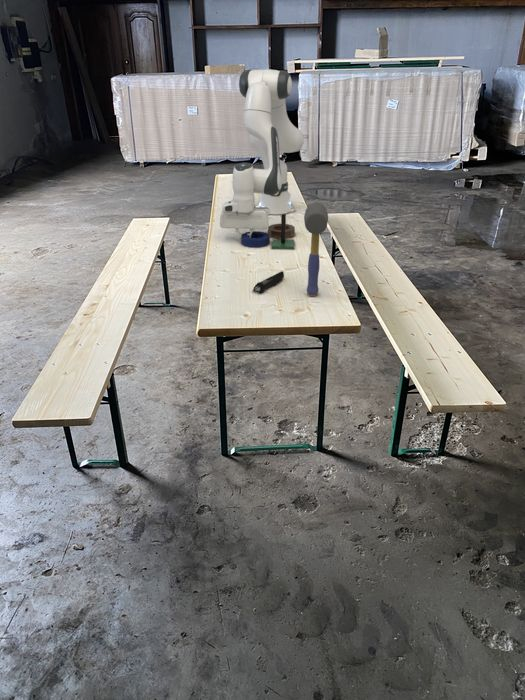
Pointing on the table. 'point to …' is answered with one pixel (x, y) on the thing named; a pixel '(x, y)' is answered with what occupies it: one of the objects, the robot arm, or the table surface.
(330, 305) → the table surface
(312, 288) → the rubber mallet
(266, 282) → the electric trimmer
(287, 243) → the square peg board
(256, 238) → the navy ring
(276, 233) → the walnut ring
